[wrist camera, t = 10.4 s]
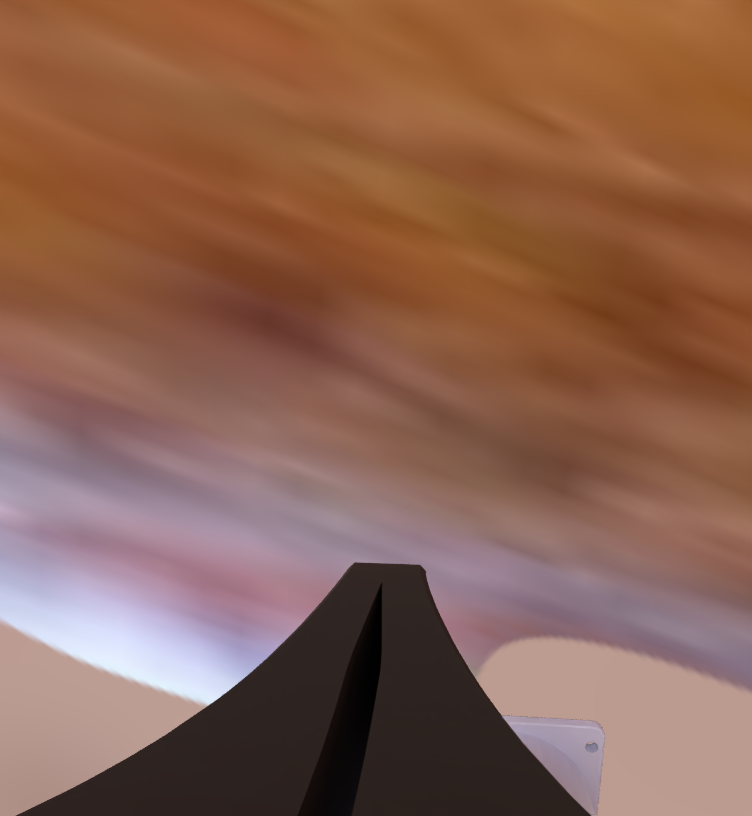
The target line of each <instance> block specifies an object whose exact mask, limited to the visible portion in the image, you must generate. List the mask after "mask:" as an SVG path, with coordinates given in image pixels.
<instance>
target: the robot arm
mask: <svg viewBox="0 0 752 816" xmlns="http://www.w3.org/2000/svg"><path fill="white" fill-rule="evenodd" d="M590 742H593V744H589V745H588V743H590ZM604 742H605V734H604V731H603V728H602V726H601V725H600V724H599V723H597V722H595V721H590V720H573V719H555V718H539V717H521V716H520V717H519V716H502V715H501V714H500V713H499V712H498V710H497V709H496V708H495V706H494V705H493V703H492V702H491V701H490V699H489V698H488V697H487V695H486V694H485V692H484V691H483V689H482V688H481V687H480V685H479V683H478V682H477V680H476V679H475V677H474V676H473V674H472V673H471V671H470V669H469V668H468V666H467V664H466V663H465V661H464V659H463V658H462V656H461V654H460V653H459V651H458V649H457V647H456V646H455V644H454V642H453V640H452V638H451V636H450V634H449V632H448V630H447V628H446V626H445V624H444V622H443V620H442V618H441V616H440V614H439V612H438V609H437V607H436V605H435V602H434V600H433V597H432V595H431V592H430V589H429V586H428V582H427V578H426V571H425V570H424V569H423V568H422V567H421V566H420V565H409V564H381V563H354V564H353V565H352V566H350V567H349V569H348V570H347V571H346V572H345V574H344V575H343V576H342V578H341V579H340V580H339V581H338V583H337V584H336V585H335V586H334V588H333V589H332V590H331V591H330V592H329V594H328V595H327V596H326V597H325V598H324V600H323V601H322V602H321V603H320V604H319V605H318V606H317V607H316V609H315V610H314V611H313V612H312V613H311V614H310V615H309V616H308V617H307V619H306V620H305V621H304V622H303V623H302V624H301V625H300V626H299V627H298V628H297V629H296V630H295V631H294V632H293V633H292V634H291V635H290V636H289V637H288V638H287V639H286V640H285V641H284V642H283V643H282V644H281V645H280V646H279V647H278V648H277V649H276V650H275V651H274V652H273V653H272V654H271V655H270V656H269V657H268V658H267V659H266V660H265V661H263V662H262V663H261V664H260V665H259V666H258V667H257V668H256V669H254V670H253V671H252V672H251V673H250V674H249V675H248V676H246V677H245V678H244V679H243V680H242V681H240V682H239V683H238V684H237V685H235V686H234V687H233V688H232V689H230V690H229V691H228V692H227V693H225V694H224V695H223V696H221V697H220V698H219V699H217V700H216V701H214V702H213V703H212V704H210V705H209V706H207V707H206V708H204V709H203V710H202V711H200V712H199V713H197V714H196V715H194V716H193V717H191V718H190V719H188V720H187V721H185V722H184V723H182V724H181V725H179V726H178V727H177V728H175V729H174V730H172V731H171V732H169V733H168V734H166V735H165V736H163V737H162V738H160V739H159V740H157V741H155V742H154V743H152V744H150V745H148V746H147V747H145V748H143V749H142V750H140V751H138V752H137V753H135V754H134V755H132V756H130V757H129V758H127V759H125V760H123V761H121V762H120V763H118V764H116V765H114V766H112V767H111V768H109V769H107V770H105V771H104V772H102V773H100V774H98V775H96V776H95V777H93V778H91V779H89V780H87V781H85V782H83V783H81V784H80V785H78V786H76V787H74V788H72V789H70V790H68V791H66V792H64V793H62V794H60V795H58V796H56V797H54V798H51V799H49V800H47V801H45V802H43V803H41V804H39V805H37V806H35V807H33V808H31V809H29V810H27V811H25V812H23V813H21V814H18V815H17V816H597V810H598V801H599V790H600V781H601V772H602V762H603V751H604Z"/></svg>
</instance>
